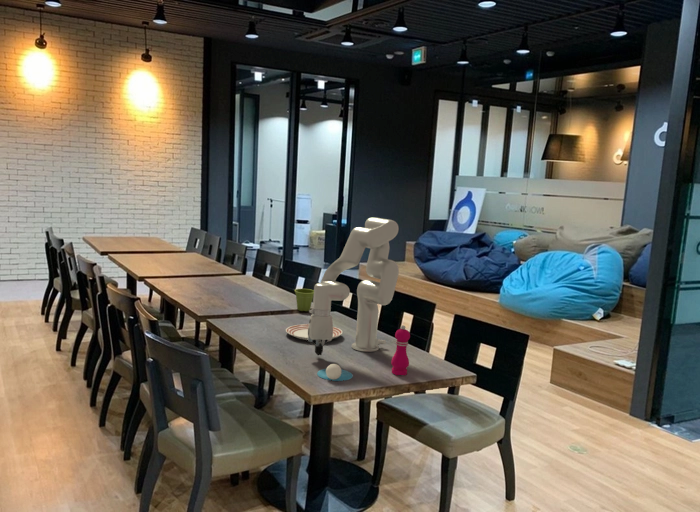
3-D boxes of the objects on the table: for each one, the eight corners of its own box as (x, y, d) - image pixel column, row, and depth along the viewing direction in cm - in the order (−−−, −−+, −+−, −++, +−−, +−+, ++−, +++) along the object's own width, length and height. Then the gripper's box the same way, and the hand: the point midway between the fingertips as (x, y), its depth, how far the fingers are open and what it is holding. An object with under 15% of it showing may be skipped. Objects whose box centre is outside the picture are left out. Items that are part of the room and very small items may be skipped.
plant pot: (290, 310, 340) (291, 291, 339) (297, 306, 352) (299, 287, 350) (309, 313, 337) (311, 293, 336) (317, 309, 348) (318, 290, 347)
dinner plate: (274, 337, 286) (274, 330, 286) (304, 326, 310) (305, 319, 310) (324, 348, 274) (324, 341, 273) (352, 336, 298) (352, 329, 297)
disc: (345, 368, 247) (345, 367, 247) (357, 379, 234) (357, 379, 234) (312, 369, 242) (312, 369, 242) (323, 381, 229) (323, 381, 229)
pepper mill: (406, 370, 249) (411, 323, 247) (409, 376, 242) (413, 328, 240) (389, 369, 249) (393, 322, 246) (391, 375, 242) (395, 327, 239)
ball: (343, 370, 229) (341, 383, 232) (341, 360, 234) (339, 373, 237) (328, 370, 228) (325, 382, 230) (326, 360, 233) (324, 372, 236)
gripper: (307, 314, 250) (304, 357, 252) (341, 314, 255) (337, 356, 257) (302, 310, 257) (299, 352, 259) (335, 310, 262) (332, 351, 264)
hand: (318, 354), depth 258 cm, fingers closed
